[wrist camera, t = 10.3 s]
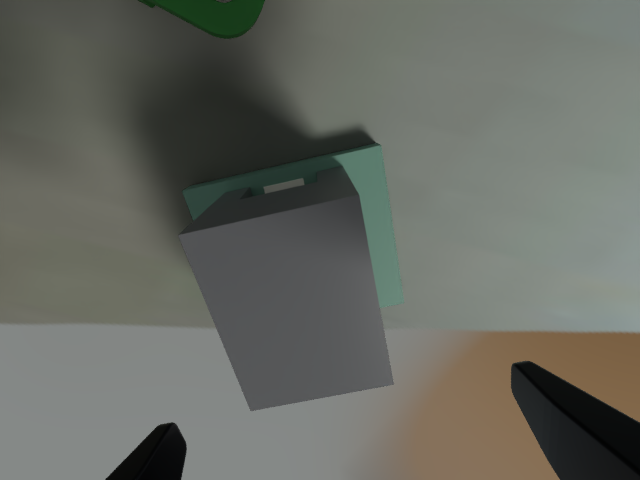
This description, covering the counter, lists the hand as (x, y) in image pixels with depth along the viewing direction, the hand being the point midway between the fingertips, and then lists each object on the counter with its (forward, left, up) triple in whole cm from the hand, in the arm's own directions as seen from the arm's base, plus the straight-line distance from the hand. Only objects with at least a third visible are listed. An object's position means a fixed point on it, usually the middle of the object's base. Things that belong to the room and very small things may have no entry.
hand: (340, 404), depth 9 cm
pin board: (+1, 0, -11) cm, 11 cm away
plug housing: (+1, 0, -10) cm, 10 cm away
